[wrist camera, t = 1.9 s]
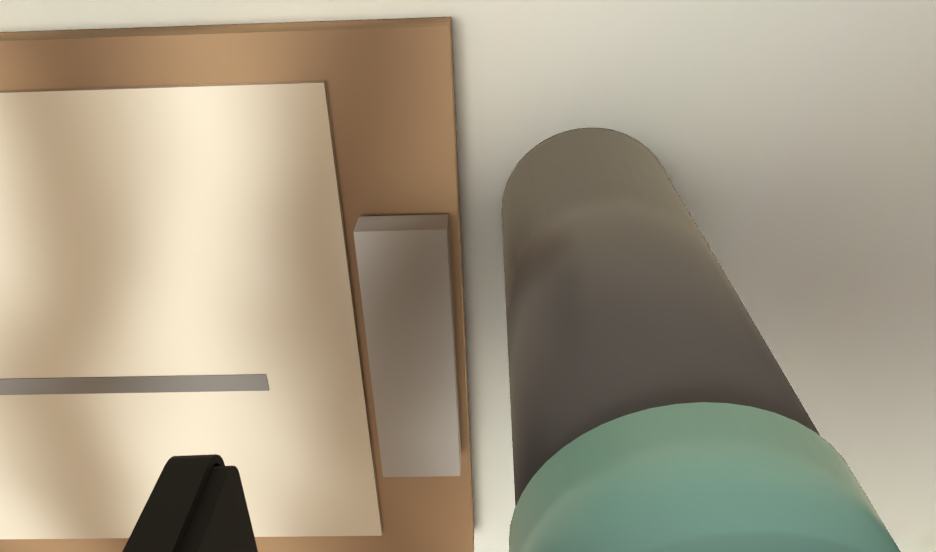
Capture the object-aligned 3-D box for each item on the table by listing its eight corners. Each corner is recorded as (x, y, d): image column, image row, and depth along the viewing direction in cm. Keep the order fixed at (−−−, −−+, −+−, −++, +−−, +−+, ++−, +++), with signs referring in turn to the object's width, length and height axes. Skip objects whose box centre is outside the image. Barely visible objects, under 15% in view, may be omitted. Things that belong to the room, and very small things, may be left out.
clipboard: (450, 17, 16) (446, 35, 14) (474, 527, 23) (473, 582, 21) (-369, 45, 16) (-471, 66, 15) (-98, 533, 24) (-144, 586, 22)
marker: (683, 121, 17) (1000, 529, 6) (666, 284, 19) (888, 796, 8) (495, 126, 17) (512, 534, 7) (498, 287, 19) (515, 796, 9)
